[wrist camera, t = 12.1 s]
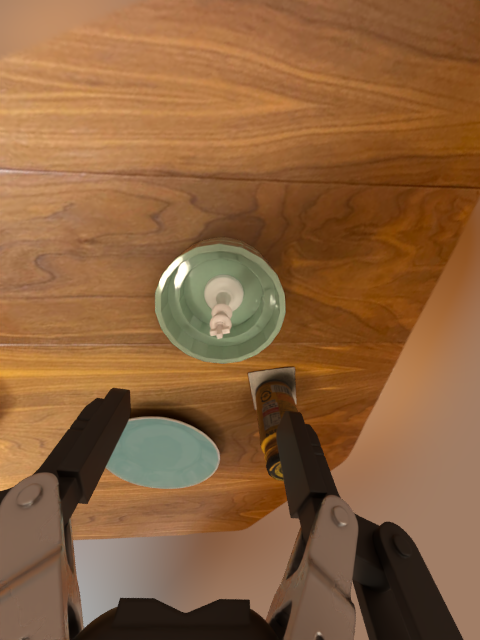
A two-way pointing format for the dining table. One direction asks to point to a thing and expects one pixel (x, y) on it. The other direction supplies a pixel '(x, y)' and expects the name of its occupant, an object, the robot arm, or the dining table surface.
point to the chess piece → (222, 302)
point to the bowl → (194, 314)
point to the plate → (163, 454)
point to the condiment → (272, 410)
